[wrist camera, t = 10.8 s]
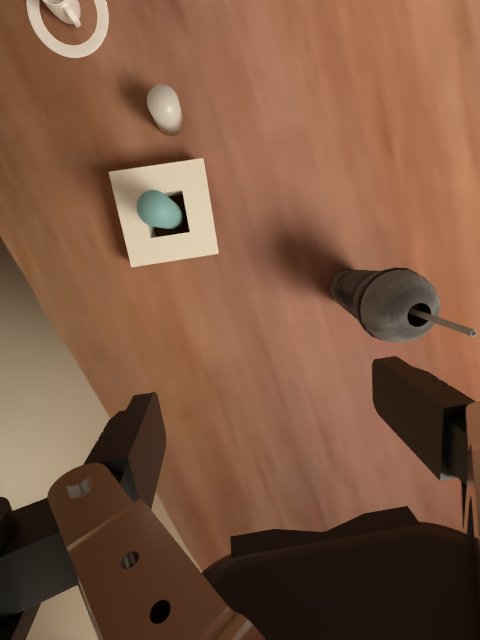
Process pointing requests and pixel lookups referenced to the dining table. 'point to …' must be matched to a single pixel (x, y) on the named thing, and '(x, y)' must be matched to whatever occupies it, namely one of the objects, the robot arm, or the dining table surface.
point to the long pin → (159, 210)
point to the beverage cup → (391, 303)
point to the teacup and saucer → (68, 10)
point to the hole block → (171, 182)
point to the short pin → (165, 109)
